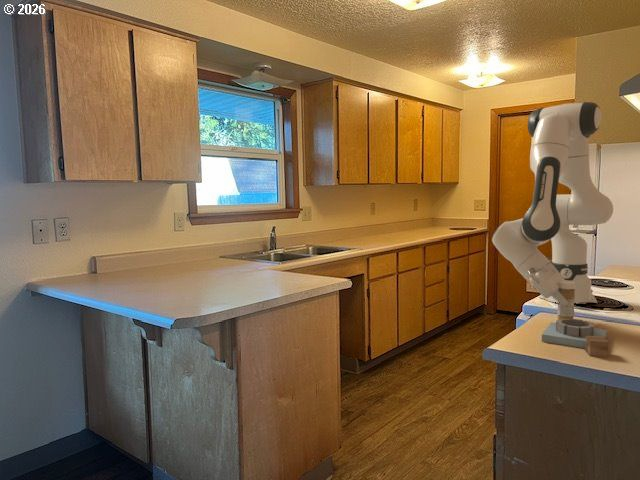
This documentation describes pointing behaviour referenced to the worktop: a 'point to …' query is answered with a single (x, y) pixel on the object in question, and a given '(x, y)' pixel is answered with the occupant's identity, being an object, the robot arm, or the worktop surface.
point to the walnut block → (596, 346)
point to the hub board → (571, 332)
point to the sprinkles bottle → (568, 292)
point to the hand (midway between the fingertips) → (568, 301)
